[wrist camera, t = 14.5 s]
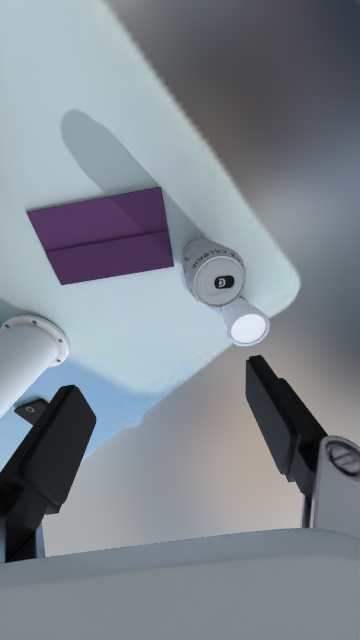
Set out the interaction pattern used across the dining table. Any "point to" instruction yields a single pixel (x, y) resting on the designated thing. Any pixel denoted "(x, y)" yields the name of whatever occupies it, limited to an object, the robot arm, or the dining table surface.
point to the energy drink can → (213, 273)
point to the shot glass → (244, 323)
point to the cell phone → (31, 410)
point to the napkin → (105, 236)
